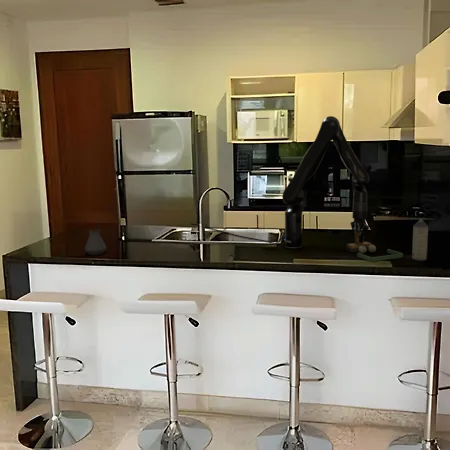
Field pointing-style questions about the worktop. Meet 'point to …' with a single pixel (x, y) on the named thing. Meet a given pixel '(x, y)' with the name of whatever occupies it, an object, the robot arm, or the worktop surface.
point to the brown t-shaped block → (357, 244)
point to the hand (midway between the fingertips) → (359, 241)
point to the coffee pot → (95, 242)
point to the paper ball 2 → (372, 248)
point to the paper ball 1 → (362, 249)
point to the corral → (395, 255)
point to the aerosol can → (420, 241)
